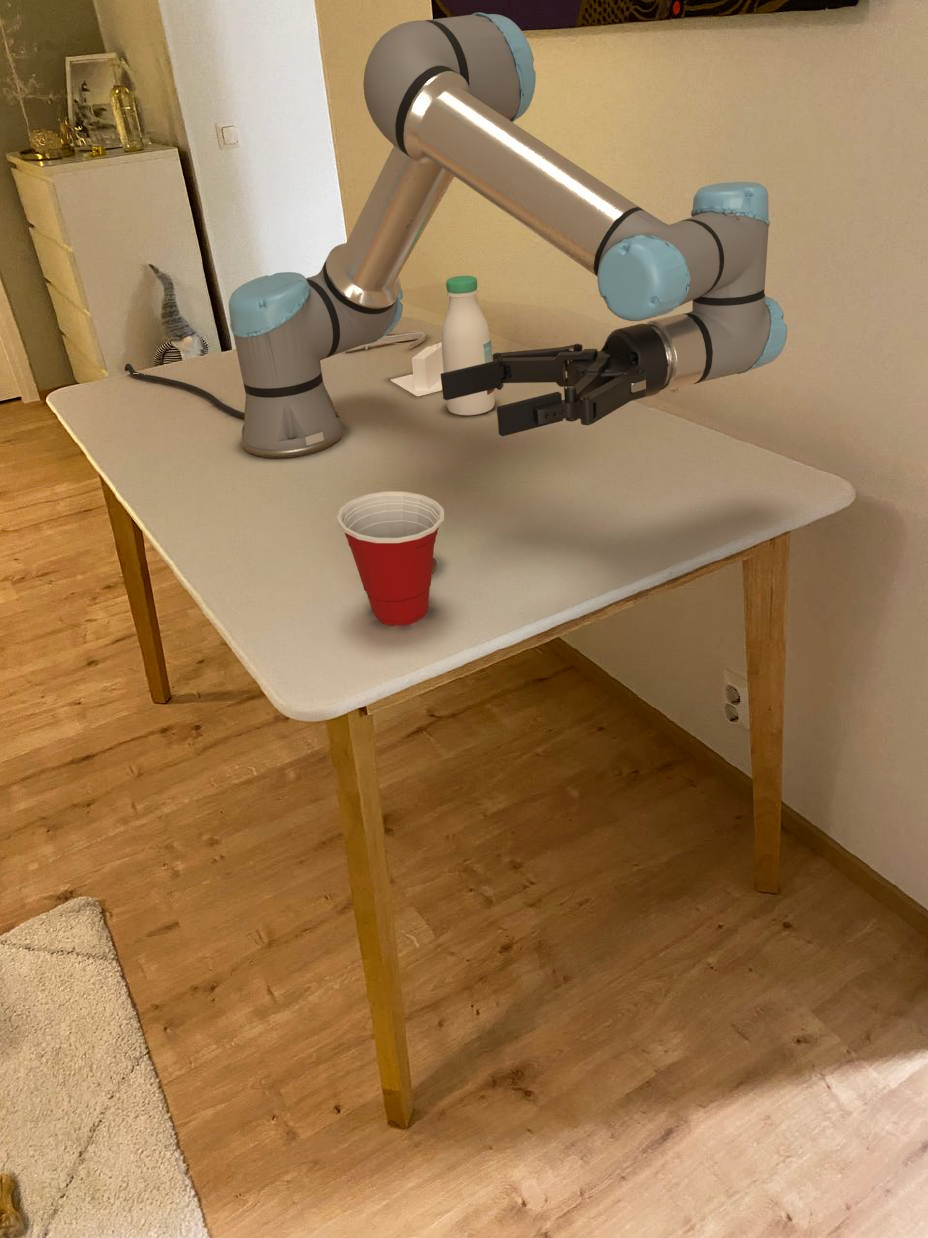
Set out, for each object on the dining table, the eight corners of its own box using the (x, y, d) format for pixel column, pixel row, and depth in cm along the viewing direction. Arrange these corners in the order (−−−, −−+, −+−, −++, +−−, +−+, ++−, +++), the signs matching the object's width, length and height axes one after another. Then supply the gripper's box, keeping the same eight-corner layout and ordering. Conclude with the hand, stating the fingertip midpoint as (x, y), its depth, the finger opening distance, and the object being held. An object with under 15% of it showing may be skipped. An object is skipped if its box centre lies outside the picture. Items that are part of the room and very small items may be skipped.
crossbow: (413, 333, 196) (413, 323, 195) (436, 349, 186) (435, 338, 185) (336, 343, 191) (335, 332, 190) (355, 359, 181) (354, 348, 180)
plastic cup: (441, 642, 99) (430, 537, 92) (340, 637, 101) (322, 534, 95) (463, 588, 108) (454, 488, 101) (369, 584, 110) (354, 486, 104)
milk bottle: (479, 419, 151) (469, 286, 140) (437, 413, 155) (425, 283, 144) (504, 402, 156) (496, 273, 146) (463, 397, 160) (453, 270, 149)
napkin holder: (417, 396, 162) (414, 362, 159) (388, 379, 170) (384, 347, 167) (495, 376, 167) (493, 343, 164) (463, 361, 176) (461, 329, 173)
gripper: (722, 424, 96) (530, 477, 89) (592, 367, 116) (427, 407, 109) (725, 347, 92) (524, 397, 85) (589, 302, 112) (418, 340, 105)
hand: (469, 403), depth 97 cm, fingers open, 13 cm apart
